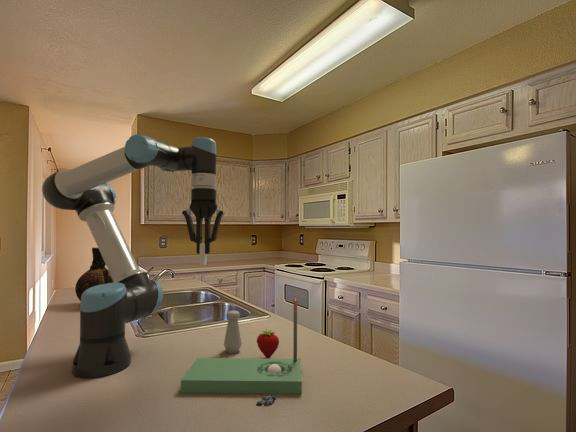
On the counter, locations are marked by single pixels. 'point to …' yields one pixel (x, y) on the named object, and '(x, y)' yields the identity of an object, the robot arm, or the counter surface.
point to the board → (245, 374)
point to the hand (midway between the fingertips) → (203, 264)
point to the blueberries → (266, 401)
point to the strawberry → (267, 343)
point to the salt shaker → (232, 333)
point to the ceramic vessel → (93, 274)
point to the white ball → (274, 369)
